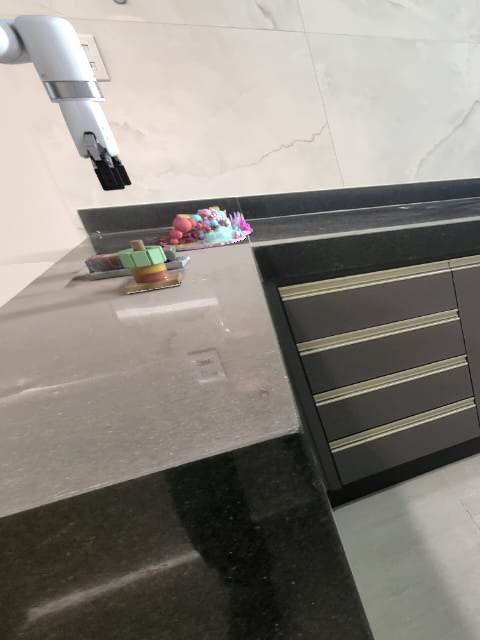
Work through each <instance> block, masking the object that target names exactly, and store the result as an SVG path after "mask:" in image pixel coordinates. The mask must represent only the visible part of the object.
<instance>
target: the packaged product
mask: <svg viewBox="0 0 480 640" xmlns="http://www.w3.org/2000/svg"><path fill="white" fill-rule="evenodd" d="M162 250H163V252H164V254H165V257H166V261H164V264H165V266H166V269H167V270H177V269H181V268H184V267H185V266H186V265H187V263H188V262H189V261H190V260H191V258H190V255H189V254H188V255H183V256H177V254H176V253H177V251H176V248H175V247H166V248H164V247H162ZM84 263H85V266H86V268H87V269H88V271H89V272H88V273H86V274H87V276H86V277H87V279H88V280H89V281H95V280H96V279H97V280H103V278H104V279H111V278H110V277H112V278H119V276H120V277H126V276H133V275H132V273H131V271H130V269H129V268H125V267H124V266H123V264H122V262H121V260H120V258H119V255H118V252H113V253H112V252H111V253H104V254H103V253H102V254H95V255H91V256H90V257H87V259H86V260H84Z"/></svg>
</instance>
